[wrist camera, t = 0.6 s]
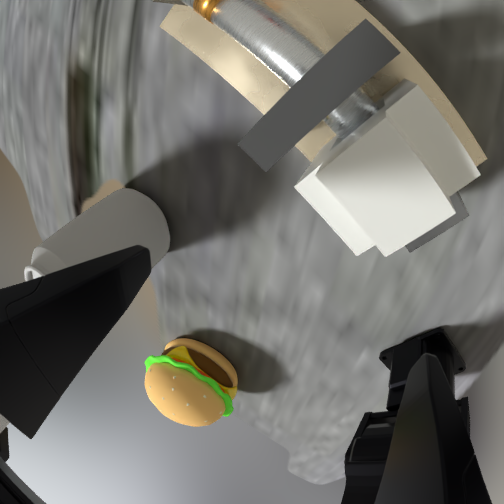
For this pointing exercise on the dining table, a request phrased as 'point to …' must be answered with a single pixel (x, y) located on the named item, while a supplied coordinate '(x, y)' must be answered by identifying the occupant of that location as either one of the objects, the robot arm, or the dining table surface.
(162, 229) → the can
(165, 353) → the hamburger
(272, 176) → the dining table surface
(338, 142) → the bracket
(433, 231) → the beige mechanical fixture
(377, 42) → the block
